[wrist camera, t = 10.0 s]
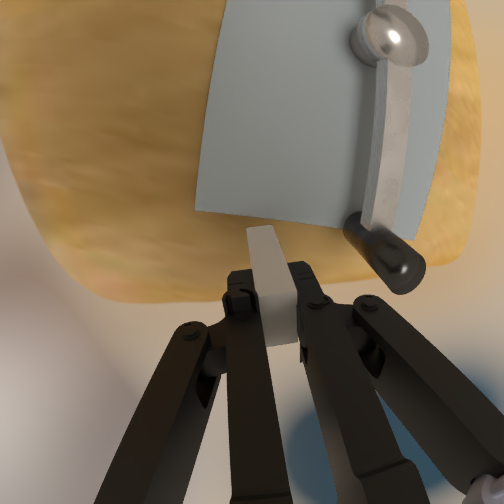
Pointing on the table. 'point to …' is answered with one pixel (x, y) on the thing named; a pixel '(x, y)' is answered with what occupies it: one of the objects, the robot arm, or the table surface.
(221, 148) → the base
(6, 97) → the table surface
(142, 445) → the robot arm
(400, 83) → the lever
